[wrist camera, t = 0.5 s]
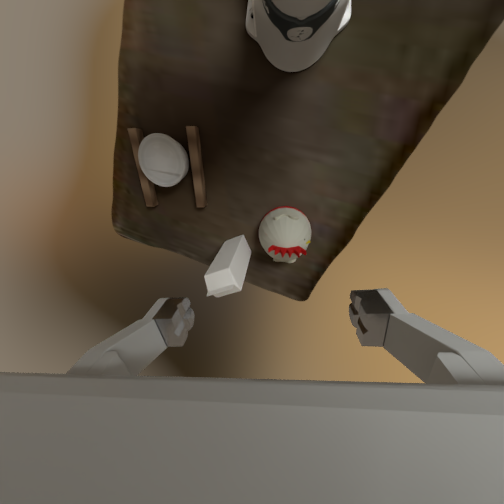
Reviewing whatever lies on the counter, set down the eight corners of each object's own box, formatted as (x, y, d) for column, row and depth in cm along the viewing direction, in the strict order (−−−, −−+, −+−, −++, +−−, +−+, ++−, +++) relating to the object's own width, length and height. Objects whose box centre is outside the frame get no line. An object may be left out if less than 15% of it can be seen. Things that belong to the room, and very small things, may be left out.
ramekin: (166, 190, 54) (155, 194, 49) (141, 148, 50) (127, 147, 45) (201, 173, 51) (193, 175, 46) (178, 126, 47) (167, 123, 42)
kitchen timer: (307, 254, 57) (316, 285, 44) (259, 253, 59) (254, 282, 45) (312, 206, 51) (325, 224, 38) (259, 205, 53) (252, 223, 39)
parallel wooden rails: (134, 129, 48) (127, 128, 46) (198, 127, 46) (194, 125, 44) (151, 204, 56) (146, 206, 54) (207, 205, 54) (204, 207, 52)
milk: (225, 240, 58) (197, 284, 39) (243, 234, 57) (225, 275, 37) (233, 258, 60) (212, 307, 41) (252, 252, 59) (238, 300, 39)
